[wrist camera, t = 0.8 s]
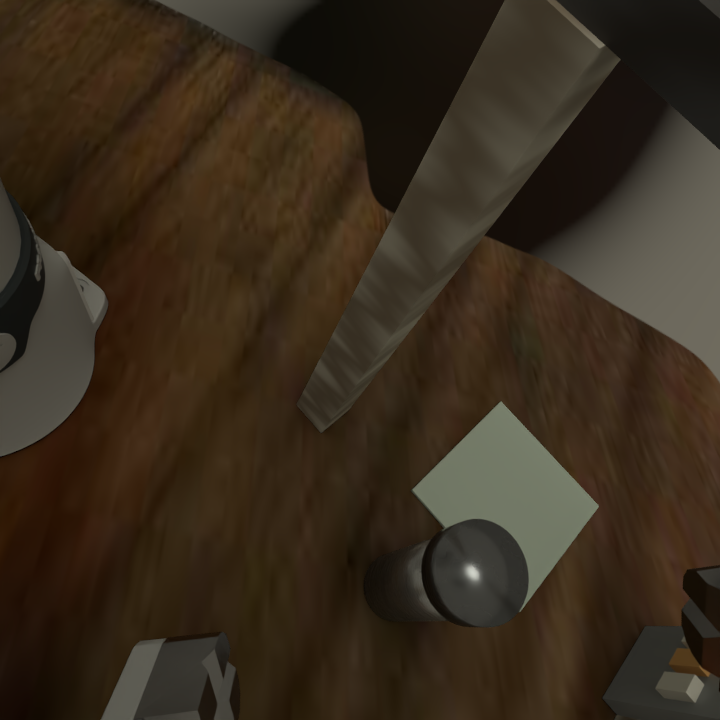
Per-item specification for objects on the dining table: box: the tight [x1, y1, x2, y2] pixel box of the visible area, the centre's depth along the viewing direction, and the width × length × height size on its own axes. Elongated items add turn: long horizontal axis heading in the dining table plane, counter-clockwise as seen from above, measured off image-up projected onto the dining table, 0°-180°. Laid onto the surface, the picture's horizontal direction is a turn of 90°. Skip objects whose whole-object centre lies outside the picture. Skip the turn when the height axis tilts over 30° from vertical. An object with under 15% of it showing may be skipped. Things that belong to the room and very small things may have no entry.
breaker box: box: [602, 626, 720, 720], centre depth 38 cm, size 5×7×12 cm
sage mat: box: [411, 402, 599, 612], centre depth 46 cm, size 12×12×1 cm
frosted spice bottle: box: [364, 519, 529, 627], centre depth 35 cm, size 5×5×14 cm
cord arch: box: [296, 0, 720, 720], centre depth 27 cm, size 36×3×36 cm, turn 43°
